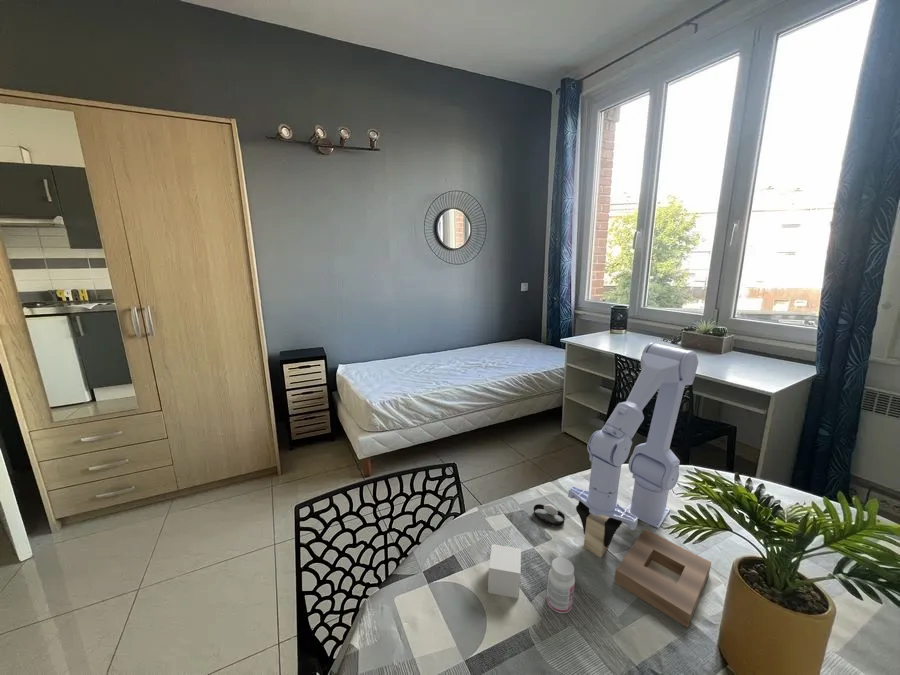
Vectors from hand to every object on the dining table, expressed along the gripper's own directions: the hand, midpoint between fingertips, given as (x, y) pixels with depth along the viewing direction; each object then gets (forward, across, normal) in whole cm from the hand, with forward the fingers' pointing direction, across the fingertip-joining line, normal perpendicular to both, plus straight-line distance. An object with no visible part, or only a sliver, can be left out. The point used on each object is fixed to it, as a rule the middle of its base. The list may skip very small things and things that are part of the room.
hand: (597, 538), depth 83 cm
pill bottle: (+3, +1, -18) cm, 18 cm away
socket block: (+2, +13, +2) cm, 13 cm away
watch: (+3, -12, 0) cm, 13 cm away
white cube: (+3, -9, -22) cm, 24 cm away
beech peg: (+2, 0, 0) cm, 2 cm away
